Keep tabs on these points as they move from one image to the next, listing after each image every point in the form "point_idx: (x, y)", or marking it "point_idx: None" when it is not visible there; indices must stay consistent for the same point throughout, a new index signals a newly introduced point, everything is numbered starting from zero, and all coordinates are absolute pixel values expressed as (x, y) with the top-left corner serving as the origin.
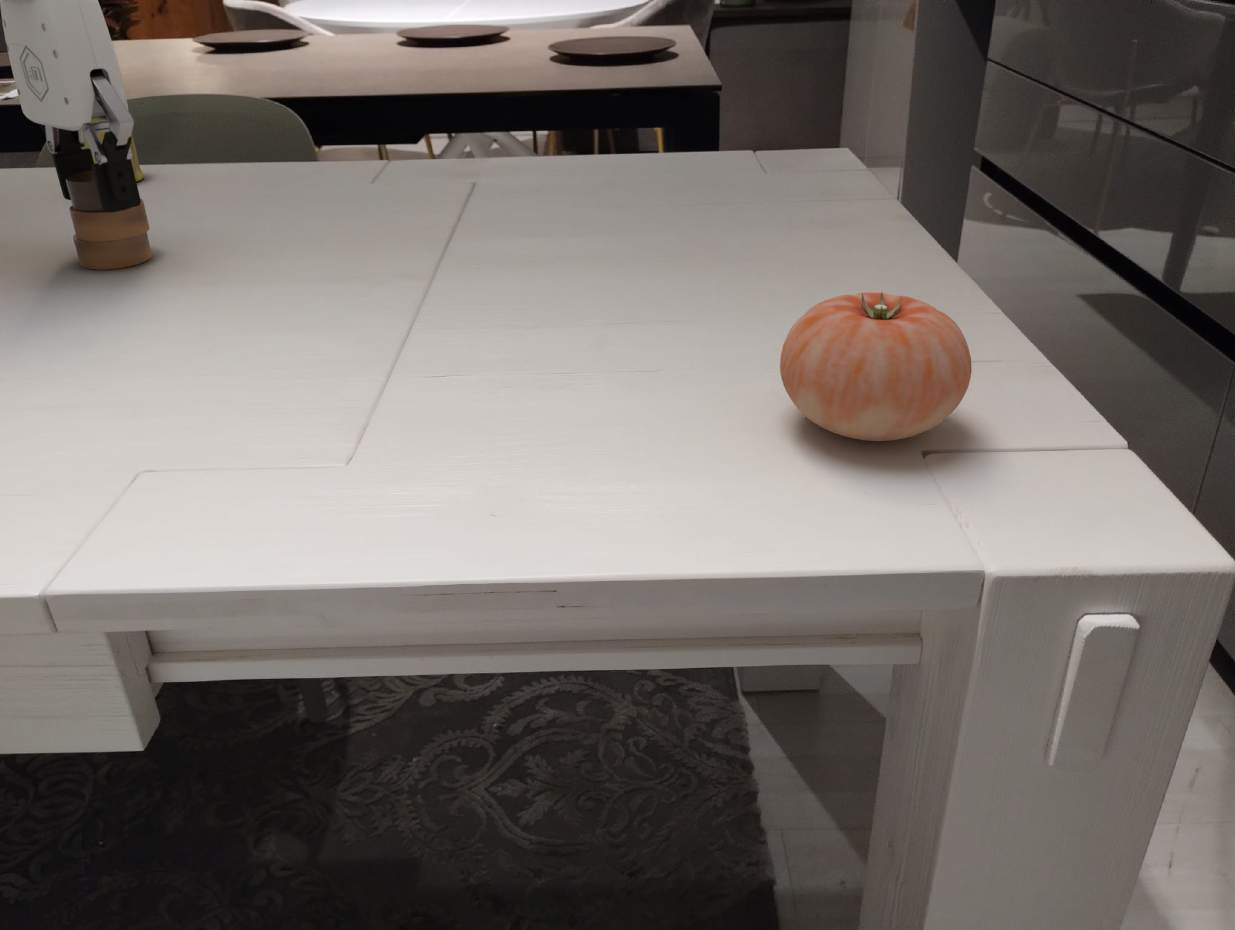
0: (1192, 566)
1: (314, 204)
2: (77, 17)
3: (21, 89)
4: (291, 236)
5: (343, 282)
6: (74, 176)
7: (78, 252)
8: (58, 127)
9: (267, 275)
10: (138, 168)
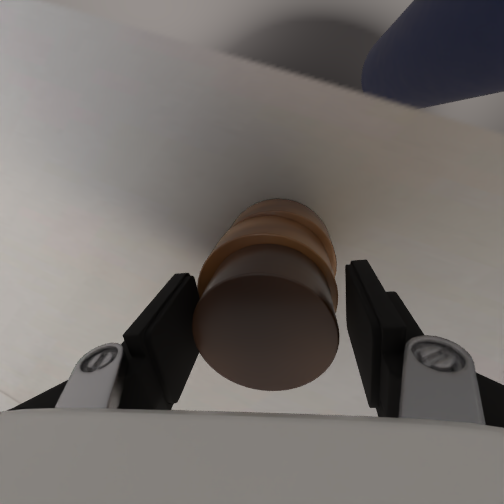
0: None
1: None
2: None
3: None
4: (219, 410)
5: (36, 358)
6: (298, 303)
7: (276, 204)
8: (137, 410)
9: (93, 331)
10: None
